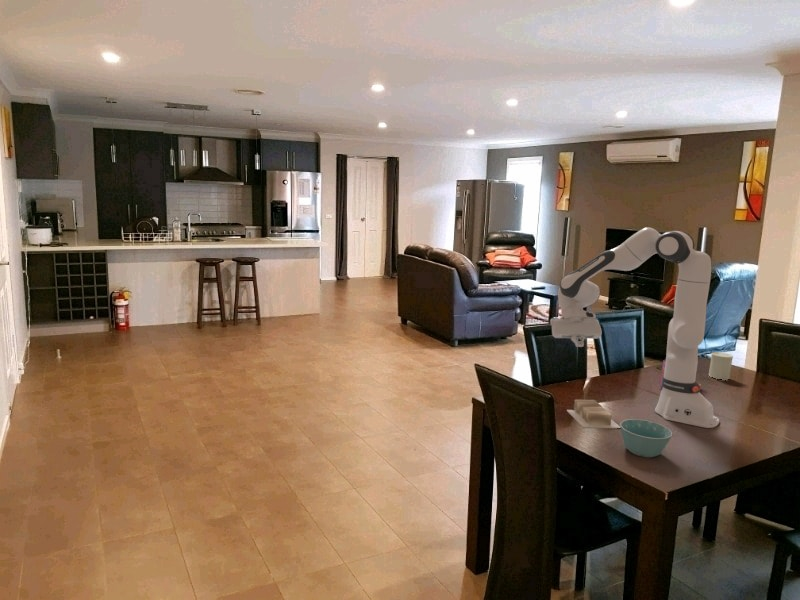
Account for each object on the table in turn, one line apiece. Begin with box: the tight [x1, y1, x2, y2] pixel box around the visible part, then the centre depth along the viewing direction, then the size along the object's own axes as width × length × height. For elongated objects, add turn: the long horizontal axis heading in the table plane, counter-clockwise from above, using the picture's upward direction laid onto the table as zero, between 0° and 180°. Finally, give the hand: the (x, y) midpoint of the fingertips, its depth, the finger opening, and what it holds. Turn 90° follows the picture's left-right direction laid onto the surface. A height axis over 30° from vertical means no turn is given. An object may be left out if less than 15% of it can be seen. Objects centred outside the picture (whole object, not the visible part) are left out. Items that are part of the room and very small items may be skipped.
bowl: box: [619, 418, 673, 458], centre depth 192 cm, size 16×16×8 cm
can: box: [708, 351, 734, 381], centre depth 284 cm, size 9×9×12 cm
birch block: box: [573, 398, 612, 425], centre depth 221 cm, size 4×8×16 cm
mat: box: [566, 409, 621, 429], centre depth 220 cm, size 17×14×1 cm
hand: (580, 346), depth 240 cm, fingers closed
